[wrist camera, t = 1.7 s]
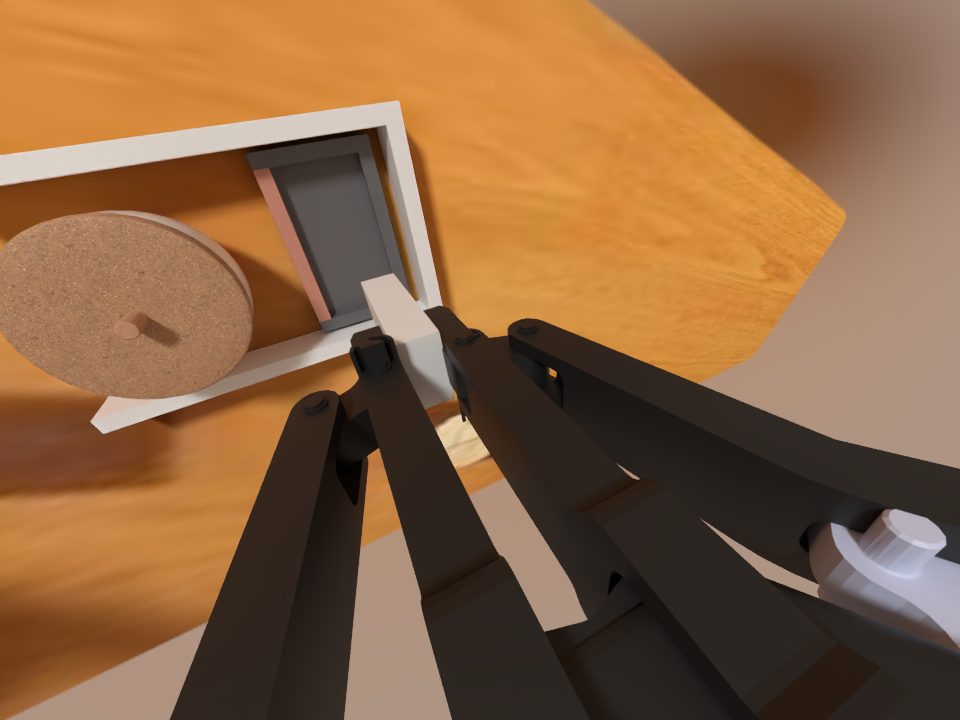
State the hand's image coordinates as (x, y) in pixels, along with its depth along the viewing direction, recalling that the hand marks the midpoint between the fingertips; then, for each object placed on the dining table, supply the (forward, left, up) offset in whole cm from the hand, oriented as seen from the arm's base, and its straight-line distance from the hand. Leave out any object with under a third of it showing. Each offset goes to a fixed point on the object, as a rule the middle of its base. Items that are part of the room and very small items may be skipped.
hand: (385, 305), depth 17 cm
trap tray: (0, 0, -16) cm, 16 cm away
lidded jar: (-12, 0, -16) cm, 20 cm away
